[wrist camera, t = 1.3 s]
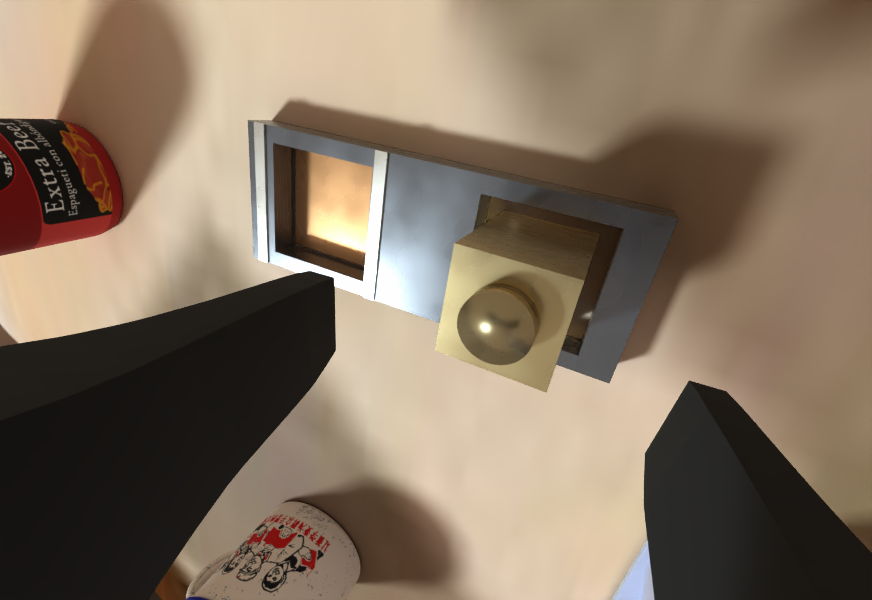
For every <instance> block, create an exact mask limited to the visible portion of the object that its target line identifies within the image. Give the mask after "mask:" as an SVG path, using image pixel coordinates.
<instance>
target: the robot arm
mask: <svg viewBox="0 0 872 600" xmlns="http://www.w3.org/2000/svg"><path fill="white" fill-rule="evenodd" d="M335 351H336V338H335V285H334V277H331V276H327V275H324V274H320V273H317V272H313V271H305V272H301V273H297V274H293V275H289V276H286V277H282V278H279V279H276V280H273V281H269V282H266V283H263V284H260V285H257V286H254V287H250V288H247V289H244V290H241V291H238V292H234V293H231V294H228V295H225V296H222V297H218V298H215V299H212V300H209V301H205V302H202V303H198V304H195V305H191V306H188V307H184V308H181V309H177V310H173V311H170V312H166V313H163V314H159V315H156V316H152V317H148V318H144V319H140V320H136V321H132V322H128V323H124V324H120V325H115V326H111V327H106V328H101V329H97V330H92V331H87V332H82V333H78V334H73V335H67V336H62V337H57V338H50V339H44V340H38V341H32V342H26V343H19V344H14V345H7V346H1V347H0V600H149V598H150V597H151V595H152V594H153V592H154V591H155V589H156V587H157V586H158V584H159V583H160V581H161V580H162V578H163V577H164V575H165V574H166V572H167V571H168V569H169V568H170V566H171V565H172V564H173V562H174V561H175V559H176V558H177V556H178V555H179V553H180V552H181V550H182V549H183V547H184V546H185V544H186V543H187V542H188V540H189V539H190V537H191V536H192V534H193V533H194V531H195V530H196V528H197V527H198V526H199V524H200V523H201V521H202V520H203V519H204V517H205V516H206V515H207V513H208V512H209V510H210V509H211V508H212V506H213V505H214V503H215V502H216V501H217V499H218V498H219V496H220V495H221V494H222V492H223V491H224V490H225V488H226V487H227V485H228V484H229V483H230V482H231V480H232V479H233V478H234V477H235V476H236V474H237V473H238V472H239V471H240V469H241V468H242V467H243V466H244V465H245V463H246V462H247V461H248V460H249V459H250V458H251V457H252V455H253V454H254V453H255V452H256V451H257V450H258V449H259V447H260V446H261V445H262V444H263V443H264V442H265V441H266V439H267V438H268V437H269V436H270V435H271V434H272V433H273V431H274V430H275V429H276V428H277V427H278V426H279V425H280V423H281V422H282V421H283V420H284V419H285V418H286V417H287V415H288V414H289V413H290V412H291V411H292V410H293V408H294V407H295V406H296V405H297V404H298V403H299V401H300V400H301V399H302V398H303V397H304V396H305V394H306V393H307V392H308V391H309V390H310V388H311V387H312V386H313V385H314V383H315V382H316V380H317V379H318V377H319V376H320V374H321V373H322V371H323V370H324V368H325V367H326V365H327V364H328V362H329V360H330V359H331V357H332V356H333V354H334V352H335ZM644 511H645V521H646V530H647V540H646V542H645V544H644V545H643V547H642V549H641V550H640V552H639V554H638V555H637V557H636V559H635V561H634V562H633V564H632V566H631V567H630V569H629V571H628V572H627V574H626V576H625V577H624V579H623V581H622V582H621V584H620V586H619V588H618V589H617V591H616V593H615V594H614V596H613V598H612V599H611V600H872V553H871V552H870V551H869V550H868V549H867V548H866V547H865V545H864V544H863V543H862V542H861V541H860V540H859V539H858V538H857V537H856V536H855V535H854V534H853V533H852V532H851V530H850V529H849V528H848V527H847V526H846V525H845V524H844V523H843V522H842V521H841V520H840V519H839V517H838V516H837V515H836V514H835V513H834V512H833V511H832V510H831V509H830V508H829V506H828V505H827V504H826V503H825V502H824V501H823V500H822V499H821V498H820V496H819V495H818V494H817V493H816V492H815V491H814V490H813V489H812V487H811V486H810V485H809V484H808V483H807V482H806V481H805V479H804V478H803V477H802V476H801V475H800V474H799V473H798V471H797V470H796V469H795V468H794V467H793V466H792V465H791V463H790V462H789V461H788V460H787V459H786V458H785V457H784V455H783V454H782V453H781V452H780V451H779V450H778V448H777V447H776V446H775V445H774V444H773V443H772V442H771V440H770V439H769V438H768V437H767V436H766V435H765V433H764V432H763V431H762V430H761V429H760V428H759V427H758V425H757V424H756V423H755V422H754V421H753V420H752V419H751V417H750V416H749V415H748V414H747V413H746V412H745V411H744V410H743V408H742V407H741V406H740V405H739V404H738V403H737V402H736V401H735V400H734V399H733V398H732V397H731V396H730V395H729V394H728V393H727V392H726V391H723V390H720V389H716V388H713V387H709V386H706V385H703V384H699V383H696V382H692V381H689V382H688V383H687V385H686V387H685V388H684V390H683V392H682V393H681V395H680V396H679V398H678V400H677V401H676V403H675V405H674V406H673V408H672V410H671V411H670V413H669V415H668V416H667V418H666V420H665V421H664V423H663V425H662V426H661V428H660V430H659V431H658V433H657V434H656V436H655V438H654V439H653V441H652V443H651V444H650V446H649V448H648V449H647V451H646V453H645V470H644Z"/></svg>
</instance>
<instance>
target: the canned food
mask: <svg viewBox="0 0 872 600" xmlns="http://www.w3.org/2000/svg"><path fill="white" fill-rule="evenodd" d="M122 205H123V199H122V190H121V185H120V181H119V178H118V175H117V172H116V169H115V167H114V165H113V163H112V161H111V159H110V157H109V156H108V154H107V152H106V151H105V149H104V148H103V147H102V145H101V144H100V143H99V142H98V141H97V140H96V139H95V138H94V137H93V136H92V135H91V134H90V133H89V132H88V131H86V130H85V129H84V128H82V127H80V126H78V125H75V124H72V123H68V122H64V121H60V120H54V119H0V256H2V255H6V254H11V253H16V252H21V251H25V250H30V249H35V248H40V247H45V246H49V245H54V244H59V243H64V242H68V241H73V240H78V239H83V238H87V237H92V236H96V235H100V234H102V233H104V232H106V231H108V230H110V229H111V228H113V227H114V226H115V225H116V224H117V222H118V221H119V219H120V215H121V212H122Z"/></svg>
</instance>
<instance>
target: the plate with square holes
mask: <svg viewBox="0 0 872 600" xmlns="http://www.w3.org/2000/svg"><path fill="white" fill-rule="evenodd" d="M248 134H249V157H250V180H251V204H252V227H253V250H254V257H255V258H258V259H259V260H261V261H264V262H266V263H268V262H269V263H272V264H275V265H278V266H280V267H283V268H286V269H289V270H292V271H294V272H297V273H301V272H305V271H313V272H317V273H320V274H324V275H327V276H331V277H334V285H335V286H337V287H339V288H342V289H345V290H348V291H351V292H354V293H356V294H359V295H362V296H363V297H365V298H367V299H370V300H376V301H379V302H382V303H384V304H387V305H390V306H393V307H396V308H399V309H401V310H404V311H407V312H410V313H413V314H415V315H418V316H421V317H424V318H427V319H429V320H432V321H435V322H438V323H440V319H441V314H442V308H443V303H444V297H445V292H446V286H447V281H448V275H449V270H450V264H451V259H452V253H453V248H454V243H455V242H457V241H458V240H460V239H461V238H463V237H464V236H466V235H468V234H469V233H471V232H472V231H474V230H475V229H477V228H478V227H480V226H481V225H483V224H484V223H485V219H486V214H487V209H488V204H489V200H490V196H492V197H496V198H500V199H504V200H508V201H512V202H517V203H521V204H525V205H529V206H533V207H537V208H541V209H545V210H549V211H553V212H557V213H561V214H565V215H570V216H574V217H578V218H582V219H586V220H590V221H594V222H598V223H602V224H606V225H610V226H614V227H619V228H623V229H622V232H621V234H620V237H619V240H618V243H617V246H616V248H615V251H614V254H613V257H612V259H611V262H610V265H609V268H608V270H607V273H606V276H605V279H604V281H603V284H602V287H601V290H600V292H599V295H598V298H597V301H596V303H595V306H594V309H593V312H592V314H591V317H590V320H589V323H588V325H587V328H586V331H585V334H584V336H583V339H582V340H580V339H577V338H574V337H571V336H568V335H566V337H565V340H564V342H563V345H562V348H561V351H560V354H559V357H558V360H557V363H556V365H559V366H562V367H565V368H567V369H570V370H573V371H576V372H579V373H581V374H584V375H587V376H590V377H593V378H595V379H598V380H601V381H604V382H607V383H610V381H611V378H612V376H613V373H614V371H615V369H616V366H617V364H618V362H619V359H620V357H621V354H622V352H623V350H624V347H625V345H626V343H627V340H628V338H629V335H630V333H631V331H632V328H633V326H634V323H635V321H636V319H637V316H638V314H639V312H640V309H641V307H642V304H643V302H644V300H645V297H646V295H647V293H648V290H649V288H650V285H651V283H652V281H653V278H654V276H655V273H656V271H657V269H658V266H659V264H660V262H661V259H662V257H663V254H664V252H665V250H666V247H667V245H668V243H669V240H670V238H671V235H672V233H673V231H674V228H675V226H676V223H677V221H678V217H677V215H676V213H675V211H671V210H667V209H662V208H658V207H653V206H649V205H644V204H640V203H636V202H631V201H627V200H622V199H618V198H613V197H609V196H604V195H600V194H596V193H591V192H587V191H582V190H578V189H573V188H569V187H564V186H560V185H556V184H551V183H547V182H542V181H538V180H533V179H529V178H524V177H520V176H516V175H511V174H507V173H502V172H498V171H493V170H489V169H484V168H480V167H476V166H471V165H467V164H462V163H458V162H453V161H449V160H444V159H440V158H436V157H431V156H427V155H422V154H418V153H413V152H409V151H404V150H400V149H396V148H391V147H387V146H382V145H378V144H373V143H369V142H364V141H360V140H355V139H351V138H347V137H342V136H338V135H333V134H329V133H324V132H320V131H315V130H311V129H307V128H302V127H298V126H293V125H289V124H284V123H280V122H275V121H271V120H248ZM295 148H296V222H295ZM294 238H295V243H296V244H299V245H302V246H305V247H308V248H311V249H314V250H317V251H320V252H323V253H326V254H329V255H332V256H335V257H338V258H341V259H344V260H347V261H350V262H353V263H356V264H359V265H362V266H365V268H363V267H360V266H357V265H354V264H351V263H348V262H345V261H342V260H339V259H336V258H333V257H330V256H327V255H324V254H321V253H318V252H315V251H312V250H309V249H306V248H303V247H300V246H297V245H294Z"/></svg>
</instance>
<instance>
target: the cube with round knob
mask: <svg viewBox="0 0 872 600" xmlns="http://www.w3.org/2000/svg"><path fill="white" fill-rule="evenodd" d="M598 237H599V234H597V233H593V232H590V231H586V230H582V229H578V228H574V227H570V226H566V225H562V224H558V223H554V222H550V221H546V220H542V219H538V218H534V217H530V216H526V215H522V214H518V213H514V212H510V211H506V210H504V211H503V212H501V213H500V214H498V215H497V216H495V217H493V218H492V219H490V220H489V221H487V222H486V223H484V224H483V225H481V226H480V227H478V228H477V229H475V230H474V231H472V232H471V233H469V234H468V235H466V236H464V237H463V238H461V239H460V240H458V241H457V242H455V243H454V248H453V253H452V259H451V264H450V270H449V275H448V281H447V286H446V292H445V297H444V303H443V308H442V314H441V319H440V325H439V330H438V336H437V341H436V347H435V351H438V352H441V353H443V354H446V355H449V356H451V357H454V358H456V359H459V360H462V361H464V362H467V363H470V364H472V365H475V366H478V367H480V368H483V369H486V370H488V371H491V372H493V373H496V374H499V375H501V376H504V377H507V378H509V379H512V380H515V381H517V382H520V383H523V384H525V385H528V386H530V387H533V388H536V389H538V390H541V391H544V392H547V389H548V386H549V384H550V381H551V378H552V375H553V372H554V369H555V366H556V363H557V360H558V357H559V354H560V351H561V348H562V345H563V342H564V340H565V337H566V334H567V331H568V328H569V325H570V322H571V319H572V316H573V313H574V310H575V307H576V304H577V301H578V298H579V296H580V293H581V290H582V287H583V284H584V281H585V278H586V275H587V272H588V268H589V265H590V262H591V259H592V256H593V253H594V250H595V247H596V244H597V240H598Z"/></svg>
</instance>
